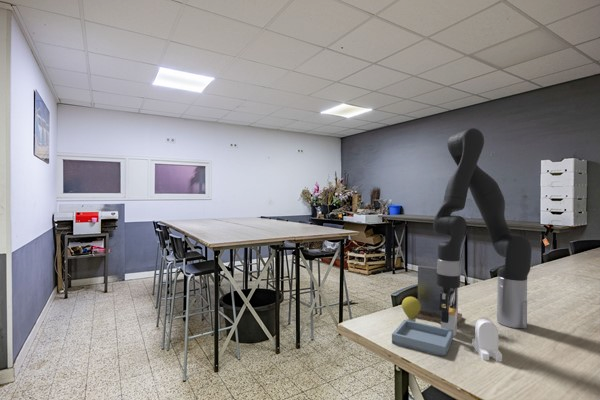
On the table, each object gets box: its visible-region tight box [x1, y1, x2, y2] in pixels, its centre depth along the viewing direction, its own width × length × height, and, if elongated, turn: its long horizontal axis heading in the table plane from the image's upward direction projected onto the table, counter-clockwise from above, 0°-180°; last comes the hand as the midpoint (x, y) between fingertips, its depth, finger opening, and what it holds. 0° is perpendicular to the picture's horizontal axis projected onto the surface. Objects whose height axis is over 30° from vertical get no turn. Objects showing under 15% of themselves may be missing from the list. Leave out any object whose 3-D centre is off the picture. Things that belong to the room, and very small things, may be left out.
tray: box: [391, 319, 454, 358], centre depth 106 cm, size 16×14×3 cm
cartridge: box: [440, 307, 458, 337], centre depth 112 cm, size 4×4×8 cm
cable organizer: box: [471, 317, 503, 362], centre depth 98 cm, size 5×10×10 cm, turn 169°
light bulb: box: [401, 296, 421, 322], centre depth 120 cm, size 7×7×10 cm
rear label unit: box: [415, 264, 463, 327], centre depth 126 cm, size 16×10×20 cm, turn 56°
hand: (447, 318), depth 113 cm, fingers open, 8 cm apart
